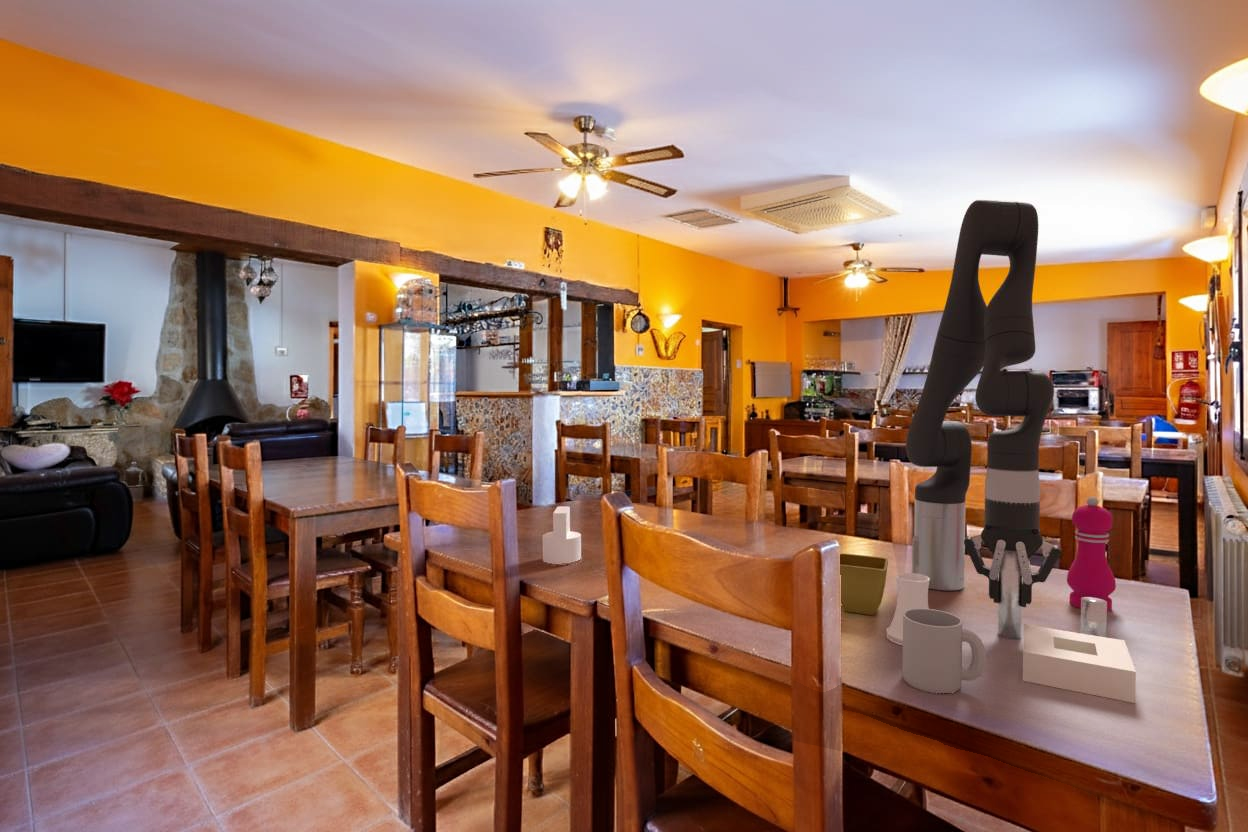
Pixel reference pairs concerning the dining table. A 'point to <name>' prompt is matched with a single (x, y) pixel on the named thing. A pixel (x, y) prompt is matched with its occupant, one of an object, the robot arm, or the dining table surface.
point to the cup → (938, 651)
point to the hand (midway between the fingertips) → (1010, 603)
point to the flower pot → (862, 582)
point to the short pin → (1093, 616)
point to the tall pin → (1010, 596)
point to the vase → (907, 601)
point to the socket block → (1078, 663)
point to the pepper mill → (1091, 555)
